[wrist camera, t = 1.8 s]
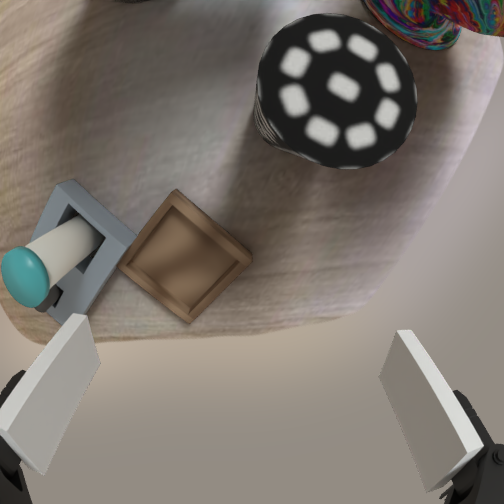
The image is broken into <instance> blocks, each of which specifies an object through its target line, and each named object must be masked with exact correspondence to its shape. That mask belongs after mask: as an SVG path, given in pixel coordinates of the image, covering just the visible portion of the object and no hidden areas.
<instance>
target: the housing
mask: <svg viewBox="0 0 504 504" xmlns="http://www.w3.org/2000/svg"><path fill="white" fill-rule="evenodd" d="M75 211H77V212H79V213H80V214H81V215H82V216H83V217H84V218H85V219H86V220H87V221H88V222H89V223H90V224H92V225H93V226H94V227H95V228H96V229H97V230H98V231H99V232H100V233H102V234H103V235H104V236H105V237H106V239H105V241H104V242H103V244H102V245H101V247H100V248H99V250H98V252H97V253H96V255H95V256H94V258H92V257H90V256H89V255H88V256H87V257H85V258H84V259H83V260H82V261H81V262H80V263H78V264H77V265H76V266H75V267H74V268H73V269H71V270H70V271H69V272H68V273H67V274H66V275H65V276H63V277H62V278H61V279H60V280H59V281H58V282H57V283H56V285H57V286H58V287H60V288H61V289H62V290H63V291H64V292H63V294H62V296H61V297H60V298H59V299H58V300H57V301H56V302H55V303H54V304H53V305H52V306H51V307H50V308H49V309H48V310H47V311H46V312H47V313H48V314H49V315H50V316H52V317H53V318H54V319H55V320H56V321H57V322H58V323H59V324H61V325H62V326H63V324H64V323H65V322H66V321H67V320H68V318H69V317H70V316H71V315H72V314H73V313H76V314H82V315H86V313H87V311H88V310H89V308H90V307H91V305H92V304H93V302H94V300H95V299H96V297H97V296H98V294H99V293H100V291H101V290H102V288H103V287H104V285H105V284H106V282H107V281H108V279H109V278H110V276H111V275H112V274H113V272H114V271H115V269H116V268H117V267H116V265H117V264H118V262H119V261H120V259H121V258H122V257H123V255H124V254H125V252H126V251H127V250H128V248H129V247H130V245H131V244H132V243H133V241H134V240H135V239H136V237H137V235H136V234H134V233H133V232H132V231H131V230H130V229H129V228H127V227H126V226H125V225H124V224H123V223H122V222H121V221H119V220H118V219H117V218H116V217H115V216H114V215H113V214H111V213H110V212H109V211H108V210H107V209H106V208H105V207H104V206H102V205H101V204H100V203H99V202H98V201H97V200H96V199H95V198H94V197H93V196H91V195H90V194H89V193H88V192H87V191H86V190H85V189H84V188H83V187H82V186H81V185H80V184H78V183H77V182H76V181H75V180H74V179H71V180H68V181H65V182H62V183H59V184H57V185H56V186H55V188H54V190H53V192H52V194H51V196H50V198H49V200H48V202H47V204H46V206H45V208H44V211H43V213H42V215H41V217H40V219H39V221H38V224H37V226H36V228H35V231H34V233H33V235H32V238H31V240H30V243H31V242H33V241H34V240H36V239H38V238H39V237H41V236H43V235H44V234H46V233H48V232H49V231H51V230H53V229H55V228H56V227H58V226H60V225H62V224H63V223H65V222H67V221H69V220H71V218H72V217H73V215H74V213H75Z"/></svg>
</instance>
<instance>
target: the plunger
mask: <svg viewBox="0 0 504 504" xmlns="http://www.w3.org/2000/svg"><path fill="white" fill-rule="evenodd" d="M63 292H64V291H63V290H62V289H61V288H60V287H58V286H57V285H56V284H55V285H53V286H52V287H51V288H50V290H49V293H48V296H47V297H46V298H45V299H44V300H43V301H42V302H41V303H40V304H39V305H38V306H36V307H34V308H35V309H36V310H37V311H39V312H46V311H47V310H48V309H49V308H50V307H51V306H52V305H53V304H54V303H55V302H56V301H57V300H58V299H59V298H60V297H61V296H62V294H63Z"/></svg>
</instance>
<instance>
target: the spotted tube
mask: <svg viewBox="0 0 504 504" xmlns="http://www.w3.org/2000/svg"><path fill="white" fill-rule="evenodd" d="M416 110H417V91H416V85H415V81H414V77H413V74H412V71H411V69H410V67H409V65H408V63H407V61H406V59H405V57H404V56H403V54H402V53H401V52H400V50H399V49H398V47H397V46H396V45H395V44H394V43H393V42H392V41H391V40H390V39H389V38H388V37H387V36H386V35H385V34H383V33H382V32H381V31H379V30H378V29H376V28H375V27H374V26H372V25H370V24H368V23H366V22H364V21H362V20H360V19H357V18H353V17H350V16H346V15H341V14H331V13H324V14H313V15H309V16H306V17H303V18H299V19H297V20H295V21H293V22H292V23H290V24H288V25H286V26H285V27H283V28H282V29H281V30H280V31H279V32H278V33H277V34H276V35H274V36H273V38H272V39H271V41H270V42H269V44H268V45H267V46H266V48H265V50H264V52H263V55H262V57H261V60H260V63H259V69H258V76H257V84H256V94H255V105H254V122H255V126H256V128H257V130H258V132H259V134H260V135H261V137H262V138H263V139H264V140H265V141H266V142H267V143H268V144H270V145H271V146H273V147H275V148H277V149H280V150H283V151H286V152H288V153H291V154H294V155H297V156H299V157H302V158H305V159H307V160H310V161H312V162H315V163H318V164H320V165H323V166H326V167H332V168H337V169H359V168H364V167H369V166H372V165H374V164H376V163H379V162H381V161H383V160H385V159H386V158H388V157H389V156H390V155H392V154H393V153H395V152H396V151H397V149H398V148H399V147H400V146H401V145H402V144H403V143H404V142H405V140H406V138H407V136H408V135H409V133H410V131H411V129H412V126H413V123H414V120H415V117H416Z"/></svg>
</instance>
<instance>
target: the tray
mask: <svg viewBox="0 0 504 504" xmlns="http://www.w3.org/2000/svg"><path fill="white" fill-rule="evenodd" d="M252 262H253V258H252V253H251V252H250V251H249V250H247V249H246V248H245V247H244V246H243V245H242V244H240V243H239V242H238V241H237V240H236V239H235V238H233V237H232V236H231V235H230V234H229V233H228V232H226V231H225V230H224V229H223V228H222V227H221V226H219V225H218V224H217V223H216V222H215V221H214V220H212V219H211V218H210V217H209V216H208V215H207V214H205V213H204V212H203V211H202V210H201V209H200V208H198V207H197V206H196V205H195V204H194V203H193V202H191V201H190V200H189V199H188V198H187V197H186V196H184V195H183V194H182V193H181V192H180V191H179V190H177V189H175V190H174V191H172V192H171V193H170V194H169V196H168V197H167V198H166V199H165V201H164V202H163V203H162V204H161V206H160V207H159V208H158V210H157V211H156V212H155V213H154V215H153V216H152V217H151V219H150V220H149V221H148V223H147V224H146V225H145V226H144V228H143V229H142V230H141V232H140V233H139V234H138V236H137V237H136V239H135V240H134V241H133V243H132V244H131V245H130V247H129V248H128V250H127V251H126V252H125V254H124V255H123V257H122V258H121V259H120V261H119V262H118V264H117V265H116V267H118V268H119V269H120V270H121V271H122V272H123V273H125V274H126V275H127V276H128V277H129V278H131V279H132V280H133V281H134V282H136V283H137V284H138V285H139V286H140V287H142V288H143V289H144V290H145V291H147V292H148V293H149V294H150V295H152V296H153V297H154V298H156V299H157V300H158V301H159V302H161V303H162V304H163V305H165V306H166V307H167V308H168V309H170V310H171V311H172V312H174V313H175V314H176V315H178V316H179V317H180V318H182V319H183V320H184V321H186V322H187V323H189V324H190V323H191V322H192V321H193V320H194V319H195V318H196V317H197V316H198V315H199V314H200V313H201V312H202V311H203V310H204V309H205V308H206V307H207V306H208V305H209V304H210V303H211V302H212V301H213V300H214V299H215V298H216V297H217V296H218V295H219V294H220V293H221V292H222V291H223V290H224V289H225V288H226V287H227V286H228V285H229V284H231V283H232V282H233V281H234V280H235V279H236V278H237V277H238V276H239V275H240V274H241V273H242V272H243V271H244V270H245V269H246V268H247V267H248V266H249V265H250V264H251V263H252Z"/></svg>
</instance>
